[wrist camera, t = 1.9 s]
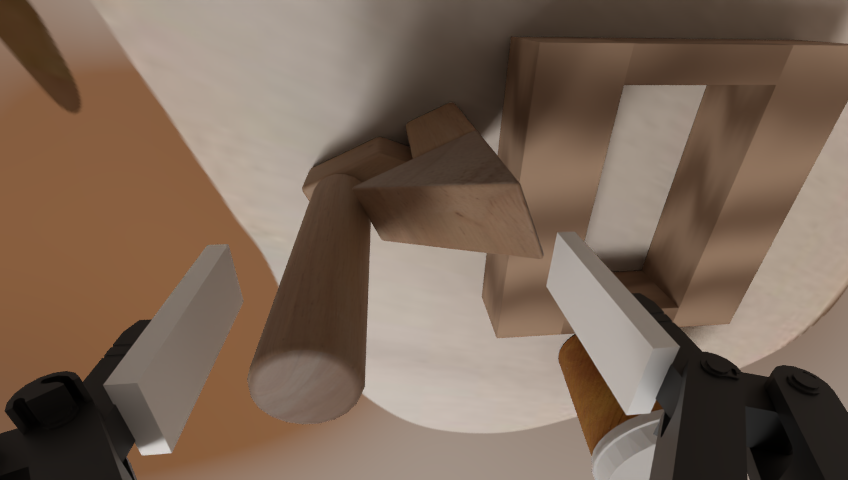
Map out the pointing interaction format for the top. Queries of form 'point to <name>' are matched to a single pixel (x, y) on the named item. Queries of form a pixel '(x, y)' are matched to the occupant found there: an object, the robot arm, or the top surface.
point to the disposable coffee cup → (608, 420)
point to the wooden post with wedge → (350, 249)
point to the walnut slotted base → (697, 172)
